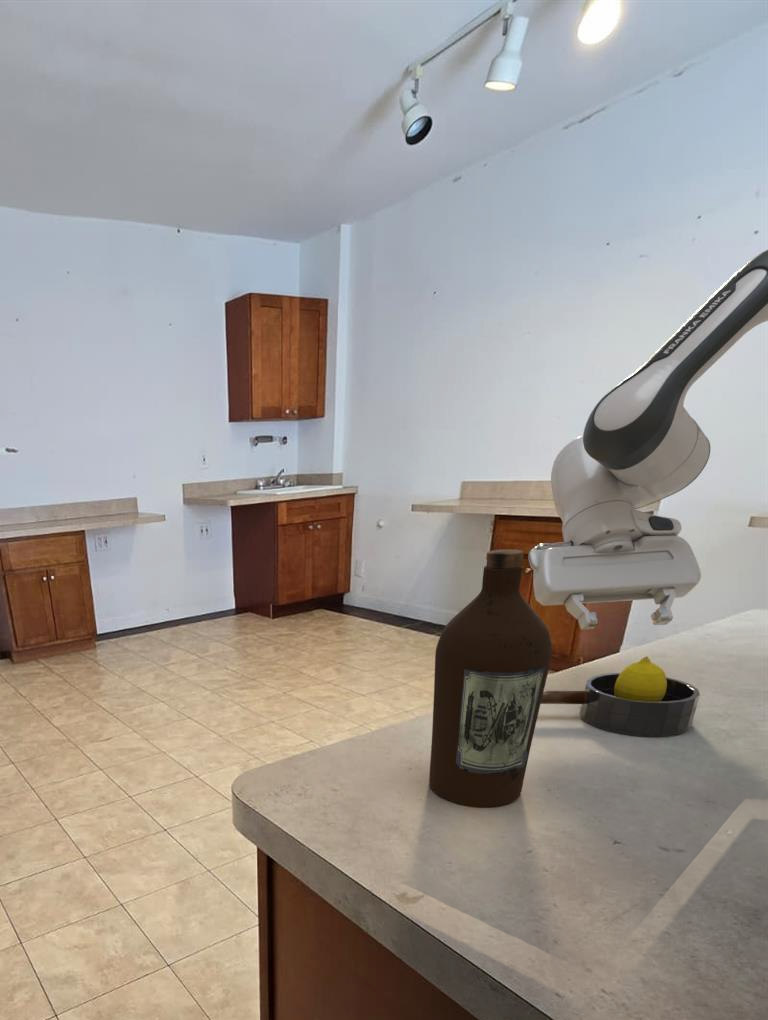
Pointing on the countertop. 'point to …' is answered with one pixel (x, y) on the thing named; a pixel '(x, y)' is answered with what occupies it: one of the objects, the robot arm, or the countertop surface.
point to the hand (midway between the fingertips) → (626, 624)
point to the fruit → (641, 682)
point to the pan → (639, 709)
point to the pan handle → (564, 697)
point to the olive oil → (488, 690)
